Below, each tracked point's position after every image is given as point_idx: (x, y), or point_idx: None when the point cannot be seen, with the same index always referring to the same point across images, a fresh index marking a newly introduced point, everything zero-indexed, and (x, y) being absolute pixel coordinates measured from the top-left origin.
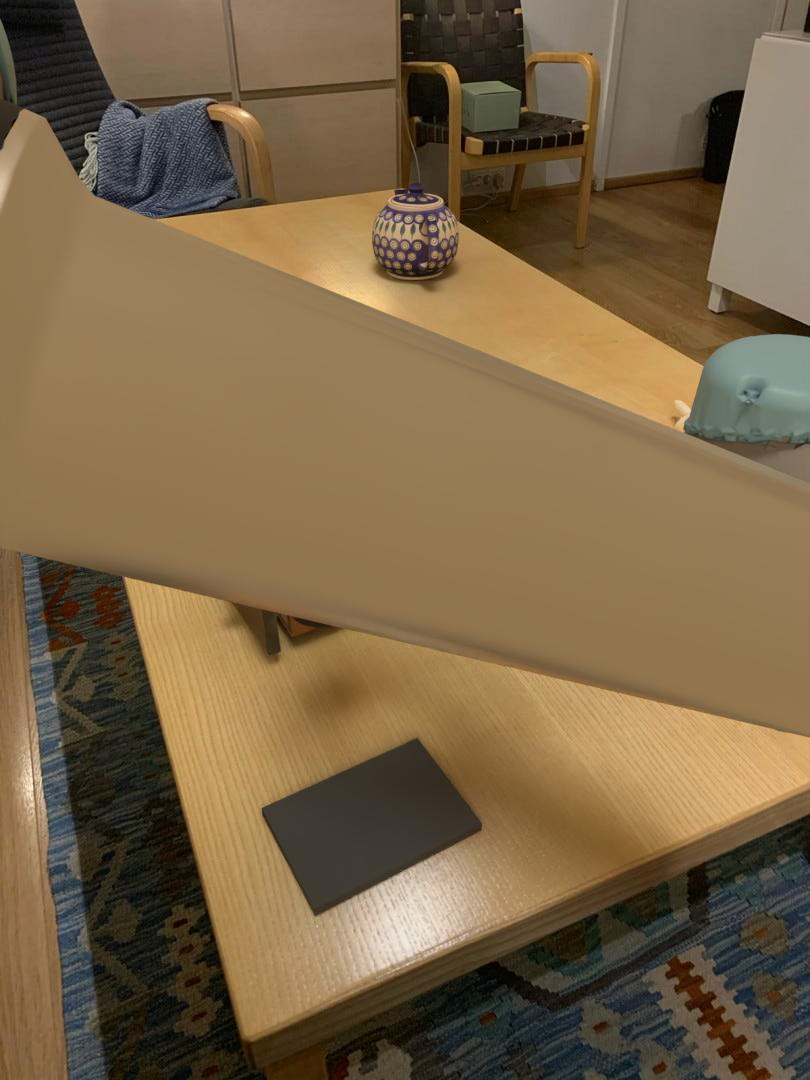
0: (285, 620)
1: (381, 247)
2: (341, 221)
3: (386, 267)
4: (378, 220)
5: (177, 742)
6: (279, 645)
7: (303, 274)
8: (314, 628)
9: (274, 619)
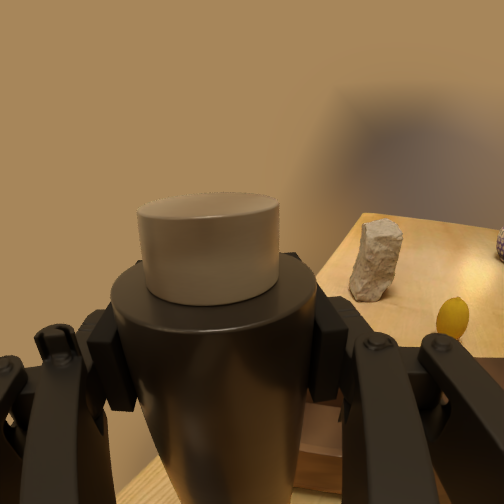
0: None
1: (500, 243)
2: (485, 235)
3: (500, 255)
4: (501, 230)
5: (132, 483)
6: None
7: (461, 249)
8: (294, 486)
9: None
